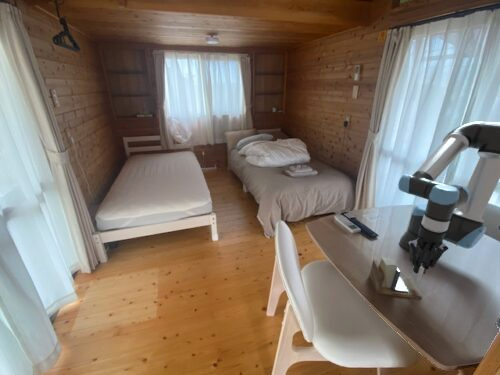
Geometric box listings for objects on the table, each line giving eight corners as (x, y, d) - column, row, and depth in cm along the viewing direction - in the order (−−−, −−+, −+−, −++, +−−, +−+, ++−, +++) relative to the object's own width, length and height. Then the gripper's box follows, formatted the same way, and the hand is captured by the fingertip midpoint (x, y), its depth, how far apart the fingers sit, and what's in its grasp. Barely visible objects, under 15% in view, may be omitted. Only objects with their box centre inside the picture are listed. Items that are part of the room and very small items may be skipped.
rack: (409, 280, 101) (415, 264, 98) (421, 299, 92) (427, 282, 89) (369, 275, 103) (373, 259, 100) (376, 292, 94) (381, 276, 91)
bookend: (400, 278, 100) (405, 260, 97) (408, 292, 93) (414, 273, 90) (385, 276, 101) (390, 258, 98) (392, 290, 94) (398, 271, 91)
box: (375, 278, 100) (380, 256, 96) (385, 279, 100) (391, 257, 96) (380, 287, 95) (386, 265, 91) (391, 288, 95) (398, 265, 91)
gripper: (447, 223, 89) (429, 274, 98) (409, 220, 91) (395, 270, 100) (460, 234, 82) (439, 288, 91) (418, 231, 84) (402, 283, 93)
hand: (416, 278), depth 95 cm, fingers closed
